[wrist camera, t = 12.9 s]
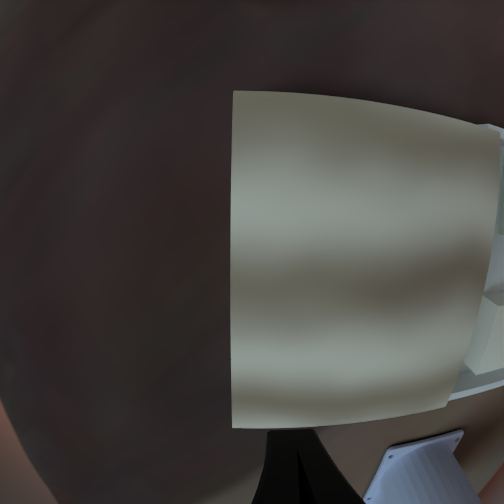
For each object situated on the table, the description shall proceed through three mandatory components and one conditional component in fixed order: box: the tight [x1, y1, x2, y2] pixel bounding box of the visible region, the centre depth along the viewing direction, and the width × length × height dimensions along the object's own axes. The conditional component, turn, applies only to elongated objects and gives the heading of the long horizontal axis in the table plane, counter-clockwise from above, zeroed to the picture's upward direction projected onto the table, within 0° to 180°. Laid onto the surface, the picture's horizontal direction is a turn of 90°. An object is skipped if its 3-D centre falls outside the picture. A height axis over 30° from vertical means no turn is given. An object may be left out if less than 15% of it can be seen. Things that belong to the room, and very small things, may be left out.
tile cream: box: [463, 293, 504, 375], centre depth 17 cm, size 5×5×2 cm
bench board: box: [231, 91, 500, 428], centre depth 15 cm, size 16×13×4 cm
